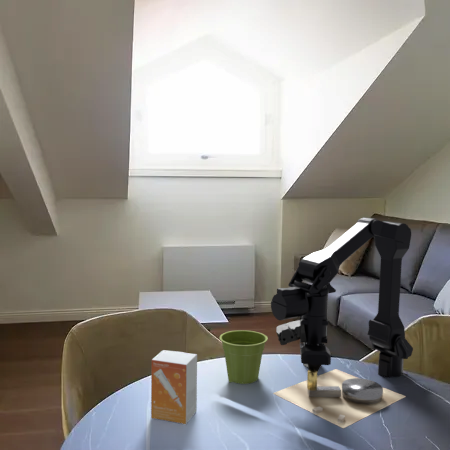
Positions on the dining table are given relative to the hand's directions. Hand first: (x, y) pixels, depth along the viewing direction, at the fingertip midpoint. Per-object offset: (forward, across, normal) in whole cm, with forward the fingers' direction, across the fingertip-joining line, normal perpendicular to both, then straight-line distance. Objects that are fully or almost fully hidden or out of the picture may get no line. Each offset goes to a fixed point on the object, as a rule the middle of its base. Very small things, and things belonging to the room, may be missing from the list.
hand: (312, 377), depth 116 cm
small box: (+4, +13, -30) cm, 33 cm away
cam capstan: (+3, +2, +7) cm, 8 cm away
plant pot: (+5, -6, -16) cm, 18 cm away
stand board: (+4, 0, +6) cm, 8 cm away
